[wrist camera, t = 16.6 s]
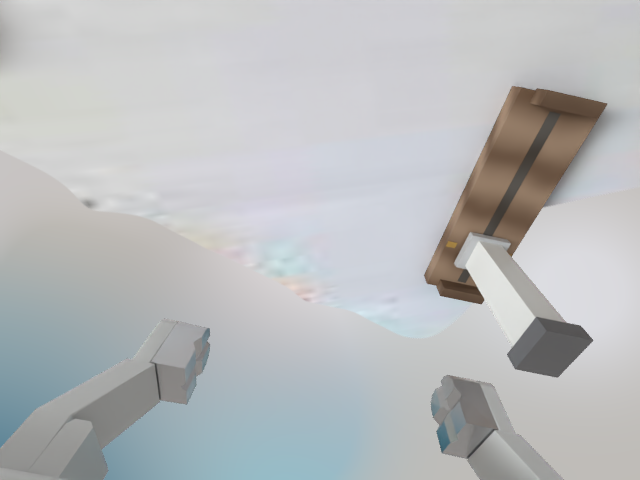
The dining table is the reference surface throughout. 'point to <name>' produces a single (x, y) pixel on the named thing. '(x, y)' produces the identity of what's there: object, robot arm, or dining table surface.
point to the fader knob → (521, 309)
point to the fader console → (512, 178)
